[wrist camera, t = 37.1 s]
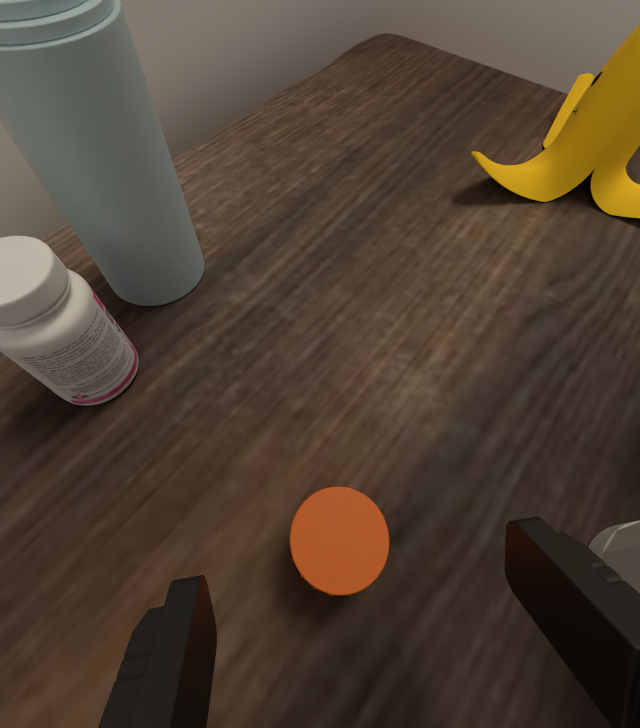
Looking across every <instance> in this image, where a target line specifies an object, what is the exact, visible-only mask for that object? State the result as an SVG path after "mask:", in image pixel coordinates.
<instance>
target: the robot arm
mask: <svg viewBox="0 0 640 728" xmlns="http://www.w3.org/2000/svg"><path fill="white" fill-rule="evenodd" d="M505 574H506V578H507V581H508V583H509V586H510V588H511V590H512V591H513V593H514V594H515V596H516V597H517V598H518V600H519V601H520V603H521V604H522V605H523V607H524V608H525V609H526V611H527V612H528V613H529V615H530V616H531V617H532V619H533V620H534V622H535V623H536V624H537V626H538V627H539V628H540V630H541V631H542V632H543V634H544V635H545V636H546V638H547V639H548V641H549V642H550V643H551V645H552V646H553V647H554V649H555V650H556V651H557V653H558V654H559V655H560V657H561V658H562V660H563V661H564V662H565V664H566V665H567V666H568V668H569V669H570V670H571V672H572V673H573V675H574V676H575V677H576V679H577V680H578V681H579V683H580V684H581V685H582V687H583V688H584V689H585V691H586V692H587V694H588V695H589V696H590V698H591V699H592V700H593V702H594V703H595V704H596V706H597V707H598V708H599V710H600V711H601V713H602V714H603V715H604V717H605V718H606V719H607V721H608V722H609V723H610V725H611V726H612V727H613V728H640V593H638V592H637V591H636V590H635V589H634V588H633V587H632V586H631V585H630V584H628V583H627V582H626V581H623V580H622V579H621V576H620V575H618V574H617V573H616V572H615V571H614V570H613V569H612V568H611V567H610V566H606V564H605V562H604V561H603V560H602V559H601V558H600V557H598V556H597V555H596V554H595V553H594V552H593V551H592V550H591V549H590V548H588V547H587V546H586V545H584V544H582V543H580V542H579V541H577V540H575V539H573V538H571V537H570V536H568V535H566V534H557V533H556V532H555V531H554V530H553V529H552V528H551V527H550V526H549V525H548V524H547V523H546V522H545V521H544V520H542V519H541V518H539V517H531V518H525V519H519V520H514V521H509V522H508V524H507V527H506V546H505ZM216 646H217V632H216V622H215V617H214V613H213V608H212V603H211V599H210V594H209V590H208V585H207V581H206V578H205V576H204V575H201V576H195V577H189V578H184V579H178V580H173V581H172V582H171V584H170V587H169V591H168V594H167V597H166V601H165V604H164V606H163V607H158V608H152V609H149V610H148V612H147V613H146V614H145V616H144V617H143V618H142V620H141V621H140V622H139V624H138V625H137V626H136V628H135V629H134V630H133V633H132V635H131V638H130V641H129V644H128V646H127V649H126V652H125V655H124V660H122V663H121V666H120V669H119V671H118V674H117V681H116V682H115V683H114V685H113V688H112V691H111V694H110V697H109V699H108V702H107V705H106V708H105V710H104V713H103V716H102V719H101V722H100V724H99V727H98V728H206V726H207V718H208V710H209V703H210V695H211V687H212V679H213V672H214V664H215V656H216Z"/></svg>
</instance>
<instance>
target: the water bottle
mask: <svg viewBox="0 0 640 728" xmlns="http://www.w3.org/2000/svg"><path fill="white" fill-rule="evenodd" d="M0 121H1V122H2V124H3V126H4V127H5V129H6V130H7V132H8V133H9V135H10V136H11V138H12V139H13V140H14V142H15V144H16V145H17V147H18V148H19V150H20V151H21V153H22V154H23V156H24V157H25V159H26V160H27V162H28V163H29V165H30V166H31V167H32V169H33V171H34V172H35V174H36V175H37V177H38V178H39V180H40V181H41V183H42V184H43V186H44V187H45V189H46V190H47V192H48V193H49V195H50V196H51V198H52V199H53V201H54V202H55V204H56V205H57V207H58V208H59V210H60V211H61V213H62V214H63V216H64V217H65V219H66V220H67V222H68V223H69V225H70V226H71V228H72V229H73V231H74V232H75V234H76V235H77V237H78V238H79V240H80V241H81V243H82V244H83V246H84V247H85V249H86V250H87V252H88V253H89V255H90V256H91V258H92V259H93V261H94V262H95V264H96V265H97V267H98V268H99V270H100V271H101V273H102V274H103V276H104V277H105V279H106V280H107V282H108V283H109V285H110V286H111V288H112V289H113V291H114V292H115V293H116V294H117V295H118V296H119V297H120V298H122V299H123V300H125V301H127V302H129V303H132V304H136V305H141V306H157V305H163V304H167V303H170V302H173V301H175V300H177V299H180V298H181V297H183V296H185V295H186V294H188V293H189V292H190V291H191V290H192V289H194V288H195V286H196V285H197V284H198V283H199V281H200V279H201V278H202V275H203V272H204V266H205V264H204V258H203V255H202V252H201V249H200V246H199V243H198V240H197V237H196V233H195V230H194V227H193V224H192V221H191V218H190V215H189V212H188V209H187V206H186V203H185V200H184V196H183V193H182V190H181V187H180V184H179V181H178V178H177V175H176V172H175V169H174V166H173V163H172V159H171V156H170V153H169V150H168V147H167V144H166V141H165V138H164V135H163V132H162V129H161V126H160V123H159V120H158V116H157V113H156V111H155V107H154V104H153V101H152V98H151V95H150V92H149V89H148V86H147V82H146V79H145V76H144V74H143V70H142V67H141V64H140V61H139V58H138V55H137V52H136V49H135V45H134V42H133V39H132V36H131V33H130V30H129V27H128V24H127V21H126V18H125V15H124V12H123V9H122V5H121V2H120V0H0Z"/></svg>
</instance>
